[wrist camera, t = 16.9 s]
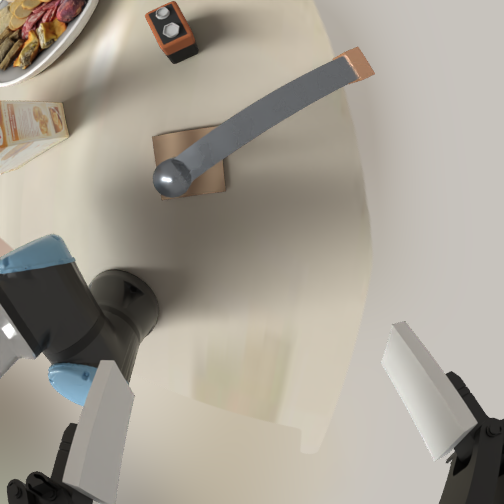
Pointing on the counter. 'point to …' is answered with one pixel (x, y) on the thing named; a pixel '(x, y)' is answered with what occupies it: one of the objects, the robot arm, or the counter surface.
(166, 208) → the counter surface
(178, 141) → the arm post
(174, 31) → the battery
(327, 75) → the swing arm
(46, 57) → the bowl
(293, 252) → the counter surface
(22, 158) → the coffeecake box
